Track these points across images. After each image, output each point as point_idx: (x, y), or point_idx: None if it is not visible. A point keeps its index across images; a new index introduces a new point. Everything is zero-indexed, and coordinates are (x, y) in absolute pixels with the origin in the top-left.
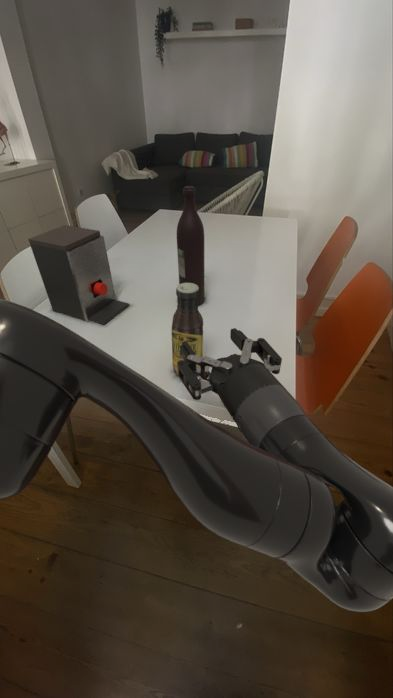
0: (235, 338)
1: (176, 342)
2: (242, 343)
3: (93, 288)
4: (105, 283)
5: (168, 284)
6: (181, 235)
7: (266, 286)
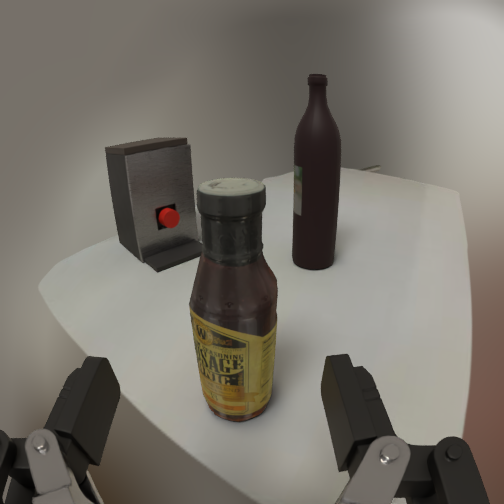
0: (333, 405)
1: (195, 338)
2: (353, 450)
3: (159, 215)
4: (181, 212)
5: (286, 232)
6: (299, 141)
7: (435, 257)
